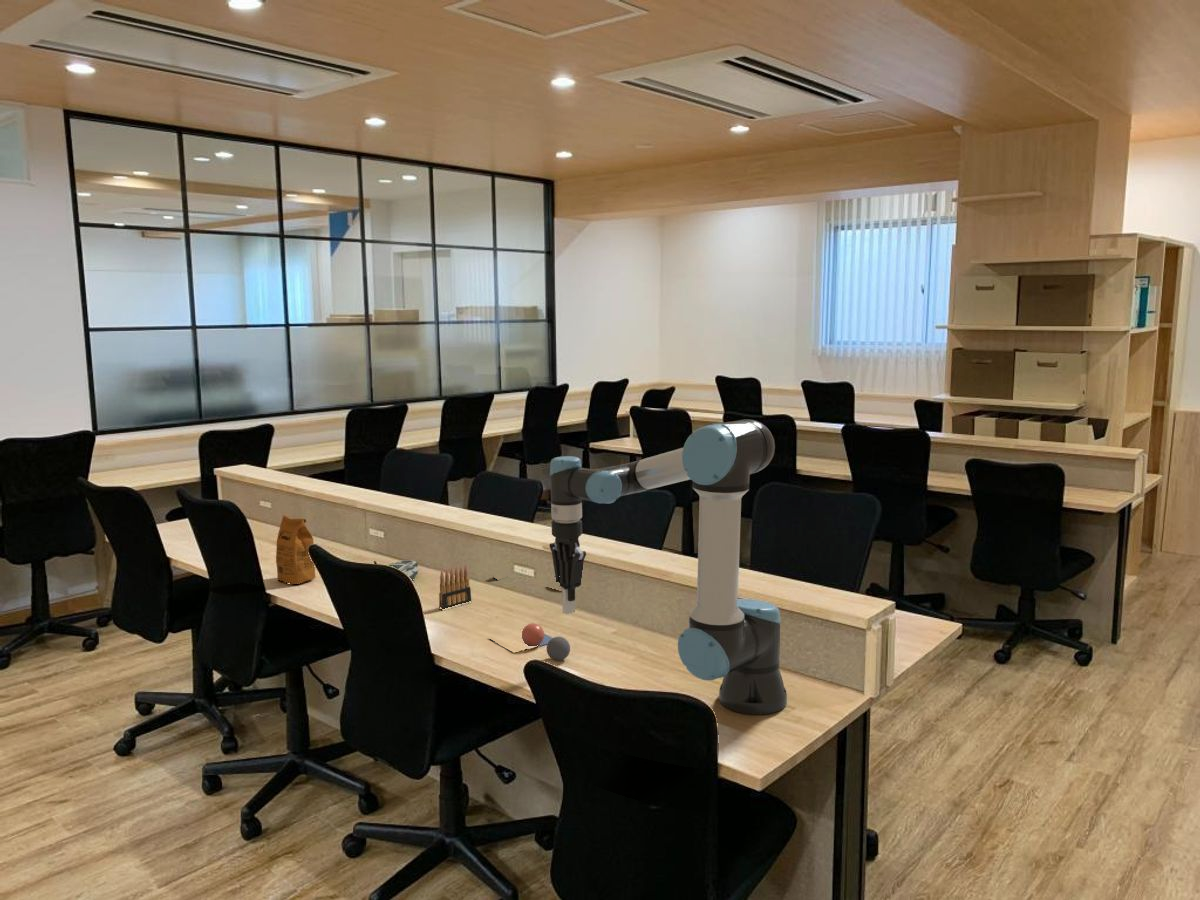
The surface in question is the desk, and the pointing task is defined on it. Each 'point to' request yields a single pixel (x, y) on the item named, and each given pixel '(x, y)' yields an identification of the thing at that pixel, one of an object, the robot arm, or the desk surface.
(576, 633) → the desk surface
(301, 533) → the coffee package
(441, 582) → the ammunition clip
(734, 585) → the robot arm
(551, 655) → the gray ball
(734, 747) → the desk surface
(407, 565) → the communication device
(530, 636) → the object ball
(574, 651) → the desk surface
